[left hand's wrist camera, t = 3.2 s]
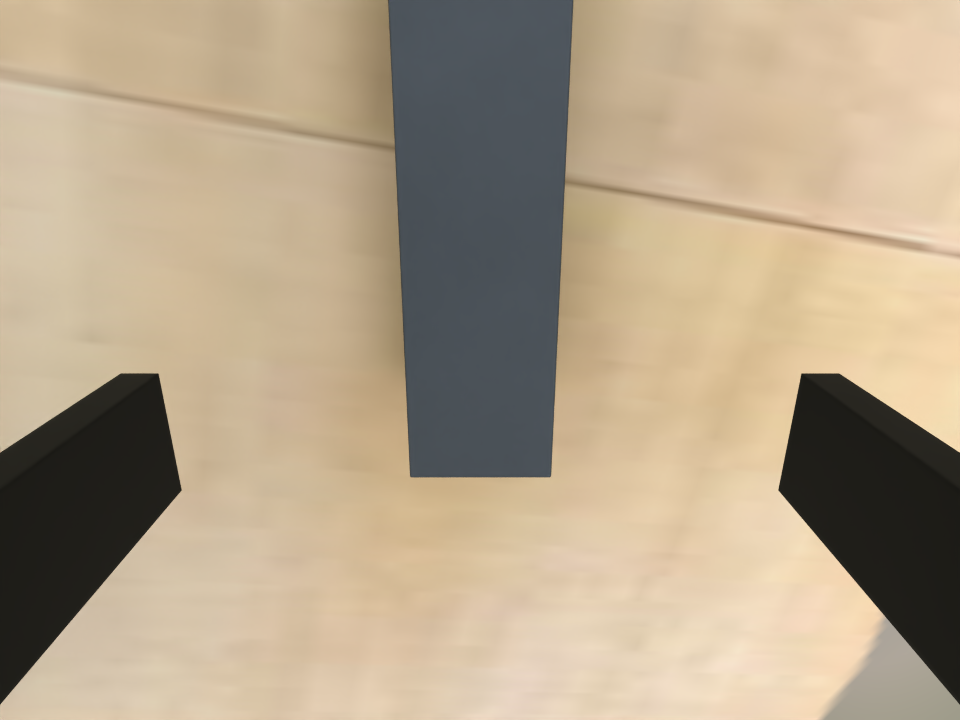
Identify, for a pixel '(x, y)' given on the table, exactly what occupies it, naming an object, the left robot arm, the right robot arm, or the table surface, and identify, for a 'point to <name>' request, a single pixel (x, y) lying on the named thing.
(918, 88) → the table surface
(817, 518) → the left robot arm
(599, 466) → the table surface
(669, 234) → the table surface
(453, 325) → the bar
